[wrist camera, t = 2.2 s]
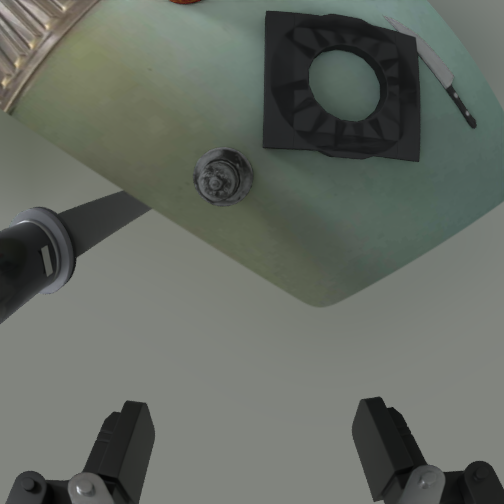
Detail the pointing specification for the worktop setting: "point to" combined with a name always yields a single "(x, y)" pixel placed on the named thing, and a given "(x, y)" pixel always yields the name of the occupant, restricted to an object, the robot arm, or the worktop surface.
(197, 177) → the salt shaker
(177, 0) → the canned food
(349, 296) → the worktop surface
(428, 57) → the chef's knife
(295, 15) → the black pad
